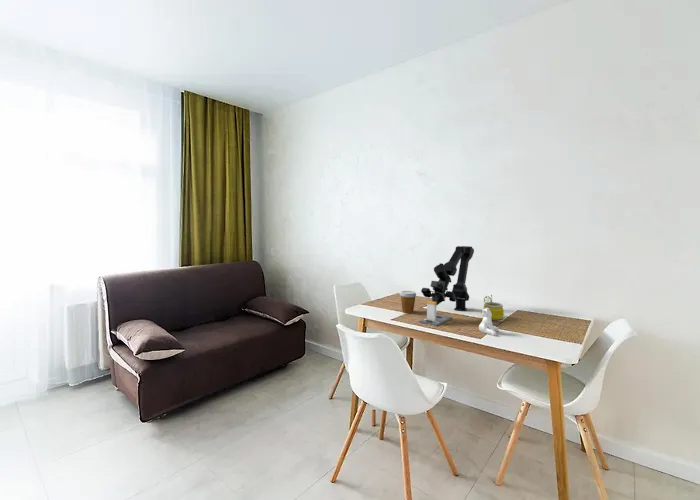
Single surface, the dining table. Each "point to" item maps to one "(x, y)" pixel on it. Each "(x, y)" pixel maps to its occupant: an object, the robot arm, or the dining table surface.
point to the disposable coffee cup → (408, 301)
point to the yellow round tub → (494, 309)
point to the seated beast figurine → (488, 323)
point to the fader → (431, 310)
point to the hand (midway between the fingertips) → (432, 307)
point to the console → (439, 320)
